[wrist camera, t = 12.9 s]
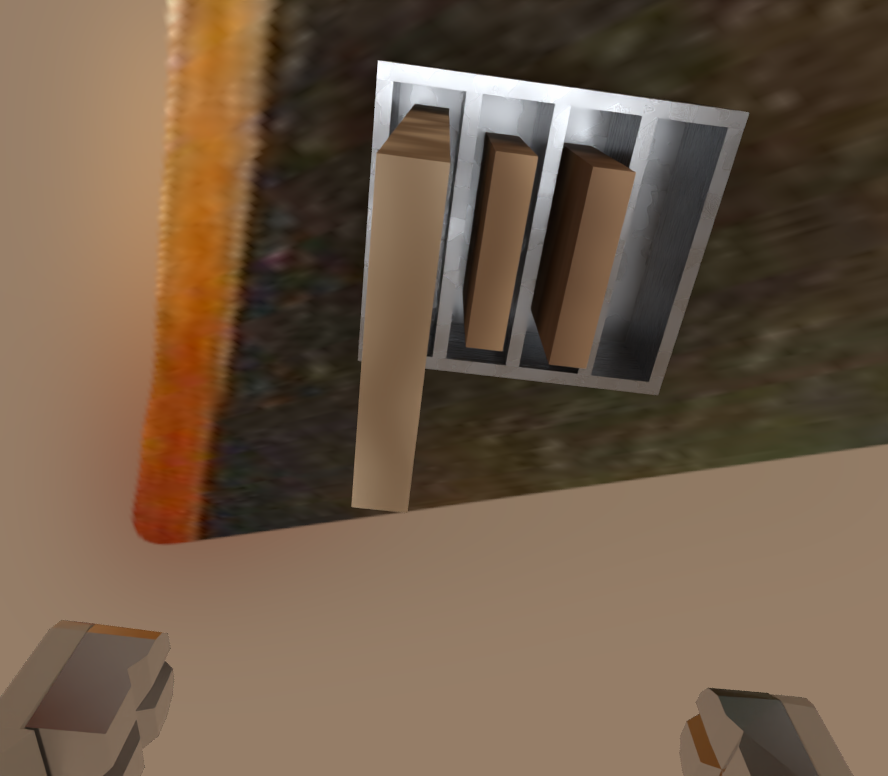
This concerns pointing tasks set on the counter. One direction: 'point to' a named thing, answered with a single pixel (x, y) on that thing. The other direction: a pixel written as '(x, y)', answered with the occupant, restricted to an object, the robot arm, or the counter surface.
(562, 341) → the walnut offcut
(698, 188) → the rack
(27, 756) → the robot arm
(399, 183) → the birch sheet
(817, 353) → the counter surface
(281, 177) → the counter surface
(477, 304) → the oak offcut
